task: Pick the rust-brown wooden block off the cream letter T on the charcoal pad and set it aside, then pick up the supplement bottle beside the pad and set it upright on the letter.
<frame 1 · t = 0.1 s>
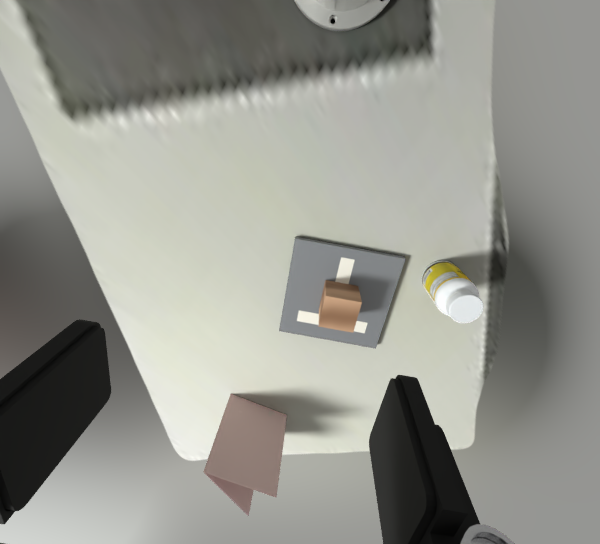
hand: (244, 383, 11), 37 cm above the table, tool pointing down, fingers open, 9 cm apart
letter pad: (337, 294, 50), on the table
greeting card: (260, 408, 61), on the table
supplement bottle: (439, 275, 48), on the table
covering block: (338, 297, 49), point 1 cm above the table, touching letter pad
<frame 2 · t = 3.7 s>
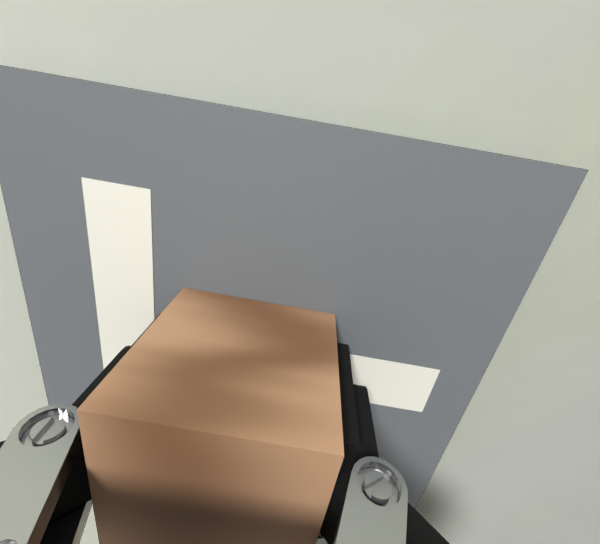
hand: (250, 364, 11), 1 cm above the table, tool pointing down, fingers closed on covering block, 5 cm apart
letter pad: (257, 343, 12), on the table
covering block: (251, 361, 12), point 1 cm above the table, touching gripper, letter pad
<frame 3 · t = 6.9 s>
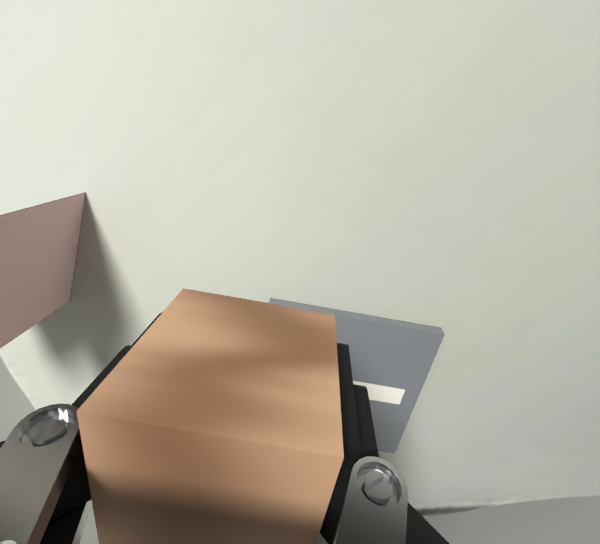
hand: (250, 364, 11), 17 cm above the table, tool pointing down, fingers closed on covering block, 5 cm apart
letter pad: (337, 378, 33), on the table
greeting card: (67, 251, 30), on the table
covering block: (251, 361, 12), point 17 cm above the table, touching gripper
when the fingers open (1 cm above the table, at t = 10.1 s): covering block drops 1 cm, on the table.
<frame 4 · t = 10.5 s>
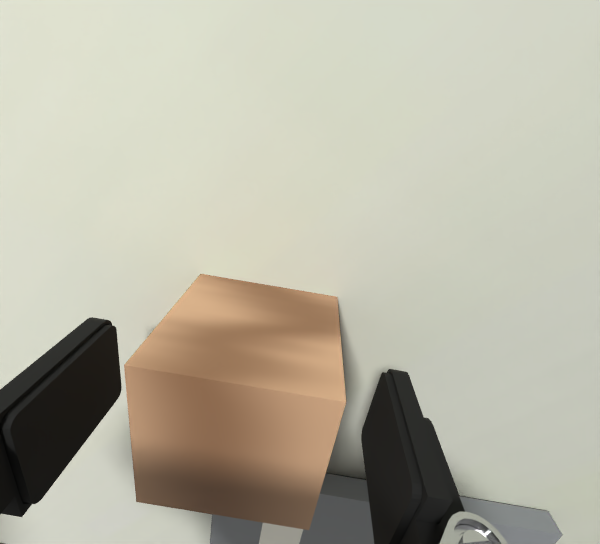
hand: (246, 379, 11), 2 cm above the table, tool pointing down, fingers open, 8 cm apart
covering block: (262, 340, 13), on the table
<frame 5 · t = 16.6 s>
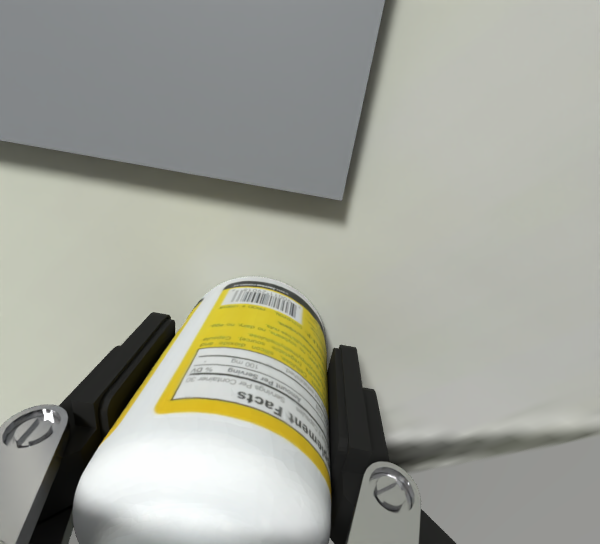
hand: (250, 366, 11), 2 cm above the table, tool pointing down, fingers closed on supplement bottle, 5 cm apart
supplement bottle: (261, 329, 13), on the table, touching gripper
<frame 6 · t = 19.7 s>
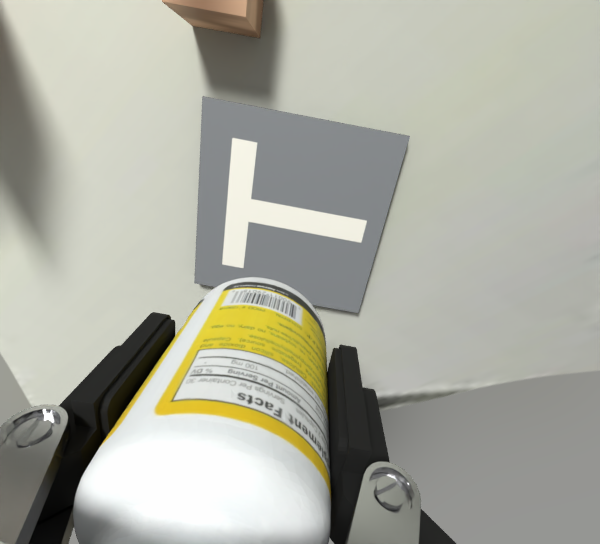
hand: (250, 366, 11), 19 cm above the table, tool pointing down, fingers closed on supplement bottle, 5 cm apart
letter pad: (290, 215, 29), on the table
supplement bottle: (261, 330, 13), point 17 cm above the table, touching gripper
when the fingers open (4 cm above the table, at t = 23.1 s): supplement bottle drops 1 cm, resting on letter pad.
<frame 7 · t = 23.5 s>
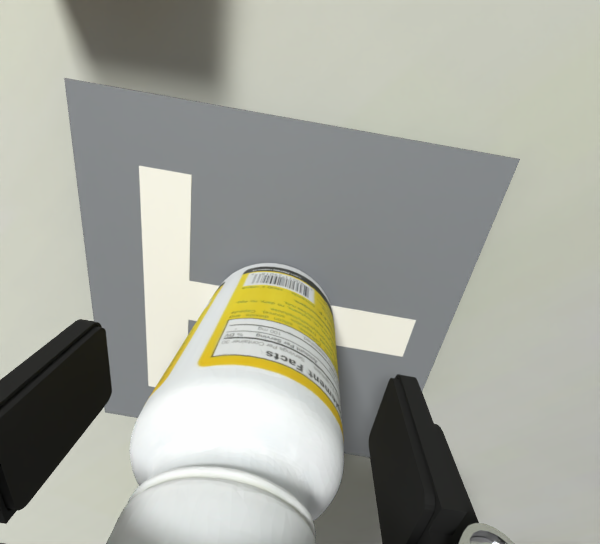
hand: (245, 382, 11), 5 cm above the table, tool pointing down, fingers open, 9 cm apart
letter pad: (269, 302, 15), on the table
supplement bottle: (274, 313, 15), point 1 cm above the table, touching letter pad
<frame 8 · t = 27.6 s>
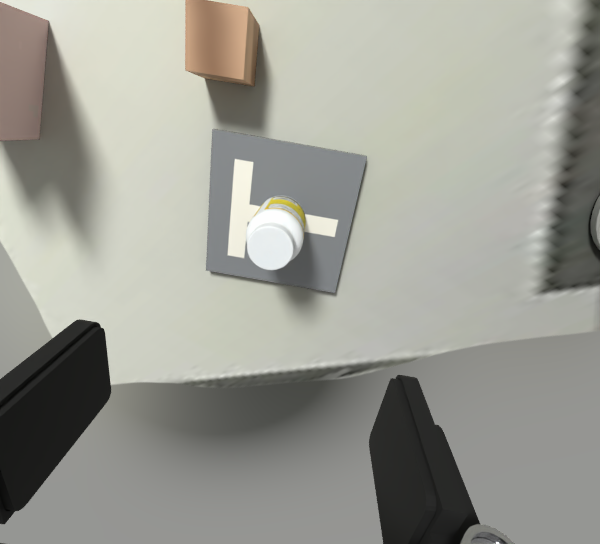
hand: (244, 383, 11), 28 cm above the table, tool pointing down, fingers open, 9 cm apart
letter pad: (280, 216, 37), on the table
greeting card: (35, 86, 33), on the table
supplement bottle: (282, 218, 36), point 1 cm above the table, touching letter pad
covering block: (231, 52, 31), on the table
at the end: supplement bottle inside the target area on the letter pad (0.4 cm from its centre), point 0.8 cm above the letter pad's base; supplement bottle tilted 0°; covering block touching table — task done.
